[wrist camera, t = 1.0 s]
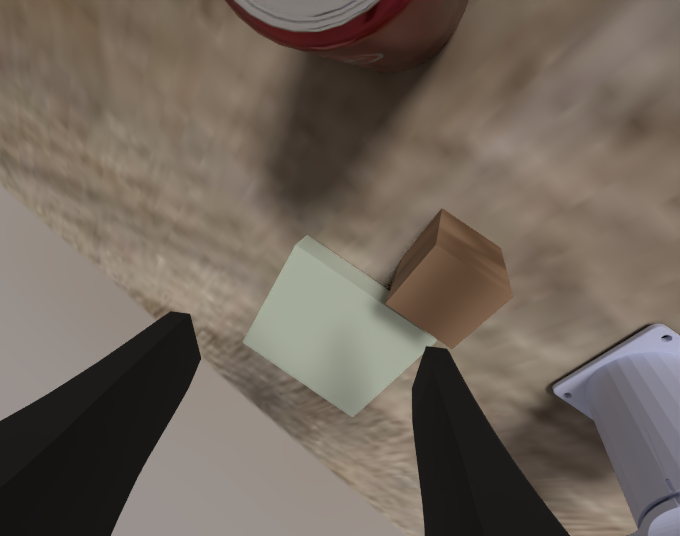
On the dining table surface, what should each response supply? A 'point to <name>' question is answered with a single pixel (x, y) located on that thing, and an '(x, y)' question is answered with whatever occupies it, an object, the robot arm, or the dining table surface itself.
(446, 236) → the walnut block
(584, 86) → the dining table surface
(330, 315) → the pale green block
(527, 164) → the dining table surface
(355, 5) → the soda can
